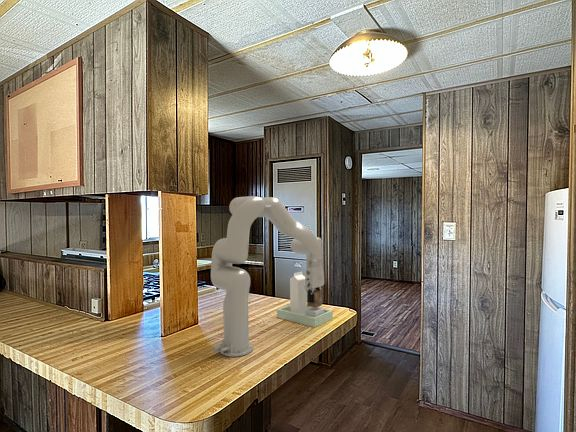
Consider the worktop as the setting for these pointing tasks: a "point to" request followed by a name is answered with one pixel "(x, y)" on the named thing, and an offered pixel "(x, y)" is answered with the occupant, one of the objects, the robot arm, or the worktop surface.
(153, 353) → the worktop surface
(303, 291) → the milk
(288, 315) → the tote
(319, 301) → the walnut block
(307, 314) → the white block
